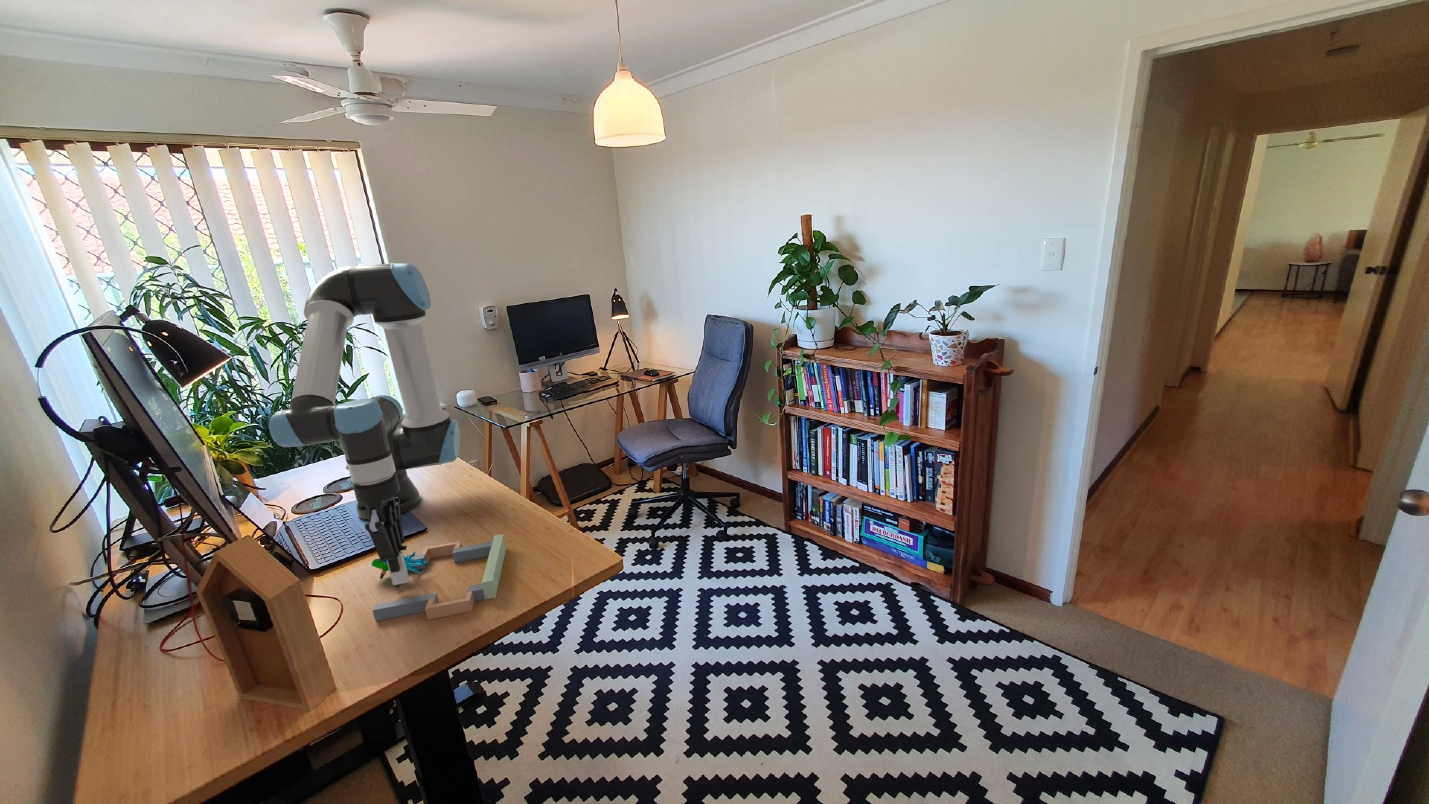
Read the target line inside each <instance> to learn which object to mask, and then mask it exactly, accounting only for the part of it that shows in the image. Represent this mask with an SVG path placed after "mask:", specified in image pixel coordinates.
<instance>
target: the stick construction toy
mask: <svg viewBox="0 0 1429 804" xmlns="http://www.w3.org/2000/svg"><path fill="white" fill-rule="evenodd" d="M414 555H416V551H413V552H412V553H411V554H410V555H406V556H404V560H405V564H406V568H407V569H409V570H410V571H409V572H414V573H417V574H422V571H423V568H422V569H417V570H416V569H414V567H413V566H418V565H422V564H423V563H425V566H426V567H427V566H428V564H429V562H427V561H423V560H422V561H421V560H416V559H411V558H412V557H414ZM411 562H418V563H414V564H412V563H411ZM427 563H428V564H427ZM371 566H372V567H374V568H376V569H379V570H381V572H380V576H379V579H380V580H383V579H384V577H385V576H386V574H387V572H389V568H388V564H387V560H383V561H381V560H380V558H375V559H373V560H372V561H371ZM400 585H401V584H398V585H394V588H396V589H397V588H400Z"/></svg>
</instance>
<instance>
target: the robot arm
mask: <svg viewBox="0 0 1429 804" xmlns="http://www.w3.org/2000/svg"><path fill="white" fill-rule="evenodd" d="M430 297H431V296H430V293H429V289H428V285H427V283H426V282H425V279H424V276H423V275H422V274H421V272H420V271H419V269H418V268H417V267H416V266H415V265H413V264H412V263H407V262H406V263H397V262H396V263H395V262H391V263H382V264H371V265H369V264H368V265H358V266H357V265H355V266H354V265H353V266H342V267H340V268H338V269H335V270H333V271H331V272H329V273H328V274H327V275H325V276H324V277H323V278H321V280H320V281H318V282H317V283H316V284H315V286H314V287H313V288H312V289H311V291H310V293H309V295H308V296H307V298H306V301H305V304H304V309H303V315H304V317H305V319H306V320H307V322H306V328H305V331H304V336H303V341H302V346H301V351H300V356H299V360H298V366H297V370H296V376H295V380H294V385H293V390H292V395H291V399H290V404H289V406H288V407H289V408H288V409H282V410H280V411H278V410H277V411H276V412H274V413H273V415H271V416H270V419H269V422H268V423H269V424H268V425H269V433H270V435H271V438H272V440H273V441H274V442H275V443H276V444H277V445H278V446H280V447H283V448H290V447H291V448H292V447H294V448H295V447H306V446H310V445H311V446H312V445H316V444H323V443H324V444H325V443H331V442H337V441H340V443H341V447H342V450H343V455H344V457H345V462H346V466H345V469H346V470H347V471H348V472H349V477H350V480H351V482H352V483H353V484H352V489H353V492H354V496H355V500H356V512H357V516H358V517H359V518H360V519H361V518H362V520H365V519H368V520H367V521H370V522H368V523H365V524H364V525H365V526H364V529H365V530H366V532H367V533H368V534H369V536H370V538H371V541H372V544H373V545H374V548H375V550H376V553H377V555H378V557H379V558H378V559H380V560H381V561H383V560H387V564H388V568H389V571H388V573H389V575H390V580H391V583H392V586H395V585H398V584H400V585H402V584H407V583H408V582H409V580H410V576H409V573H408V572H409V571H407V568H406V564H405V560H404V557H405V556H404V554H403V553H404V552H403V551H406V550H407V545H403V544H405V542H406V541H405V535H404V528H403V523H402V522H403V521H402V514H404V513H407V512H409V511H410V510H412V509H413V508H415V507H417V506H418V505H419V504H420V502H421V495H420V491H419V490H418V488H417V487H416V486H415V484H414V483H413V481H412V480H411V478H410V477H409V476H408V472H407V470H410V469H411V470H413V469H416V468H417V469H418V468H424V467H430V466H441V465H443V464H449V463H452V462H454V461H456V460H457V458H458V457H459V453H460V444H461V443H460V442H461V441H460V440H461V435H460V426H459V425H460V424H459V422H458V421H457V420H456V419H451V417H450V413H449V412H447V411H446V410H444V409H443V408H442V406H441V402H440V398H439V393H438V389H437V385H436V380H435V376H434V373H433V372H434V371H433V367H432V363H431V359H430V354H429V351H428V346H427V342H426V337H425V334H424V329H423V326H422V325H423V324H422V323H423V322H424V319H425V318H426V317H427V313H426V311H427V310H429V309H430V308H431V301H432V300H431V298H430ZM362 315H363V316H364V315H372V317H373V321H374V323H375V324H377V325H378V326H379V327H381V328H382V329H383V331H384V335H385V339H386V345H387V349H388V351H389V355H390V359H391V363H392V366H393V370H394V375H395V378H396V383H397V386H398V390H399V394H400V397H401V400H402V401H401V402H402V405H403V406H402V405H401V403H400V402H399V401H398V399H396V398H395V397H392V396H389V395H387V394H385V395H384V394H380V395H376V396H372V397H370V398H360V399H354V400H350V401H349V400H348V401H345V402H343V403H336V398H337V391H338V386H339V379H340V375H341V374H340V372H341V367H342V362H343V355H344V349H345V343H346V337H347V331H348V328H350V326H352V324H353V323H354V319H355V317H357V316H362ZM403 408H404V409H403ZM403 413H404V414H405V417H404V418H403ZM402 418H403V419H402ZM399 424H401V426H399ZM398 426H399V427H398ZM401 513H402V514H401Z"/></svg>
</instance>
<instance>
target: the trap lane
mask: <svg viewBox="0 0 1429 804" xmlns="http://www.w3.org/2000/svg"><path fill="white" fill-rule="evenodd" d="M506 551H507V546H506V541H505V535H504V533H501V534H495V535H493V539H492V541H488V542H484V543H483V542H482V543H478V544H471V545H467V546H463V543H462V541H461V540H460V541H454V542H448V543H442V544H437V545H431V546H426V547H423V550H422V552H421V553H420V554H415V555H414V557H412V558H411V559H416V560H421V561H422V560H423V561H427V562H428V563H427V565H428V564H429V561H430V560H431V559H435V558H440V557H445V556H449V555H450V556H451V555H452V557H453V562H454V563H460V562H465V561H471V560H476V559H481V558H487V561H486V564H485V568H484V572H483V576H482V578H481V579H482V580H481V583H480V584H474V585H473V584H472V585H469V586H468V587H467V591H466V595H465V598H458V599H453V600H449V601H444V602H443V601H442V602H440V601H439V596H438V592H431V593H426V594H421V595H420V594H419V595H415V596H411V597H406V598H400V599H394V600H390V601H384V602H380V603H375V605H374V607H373V609H372V612H373V617H374V620H375V622H379V621H384V620H385V621H386V620H389V619H390V620H391V619H393V618H399V617H403V616H410V615H414V614H419V613H420V614H421V613H425V614H426V619H427V621H430V620H435V619H439V618H444V617H449V616H454V615H459V614H464V613H469V612H472V611H473V609H474V605H475V602H481V601H486V600H490V599H495V598H496V597H497V592H498V589H499V584H500V580H501V574H502V572H503V571H502V570H503V565H504V560H505V557H506ZM411 563H412V564H414V563H418V562H411ZM413 567H414V569H416V570H420V569H422V570H423V569H425V568H427V566H425V563H423V564H422V565H418V566H413ZM407 572H411V571H410V570H409V569H407Z"/></svg>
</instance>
